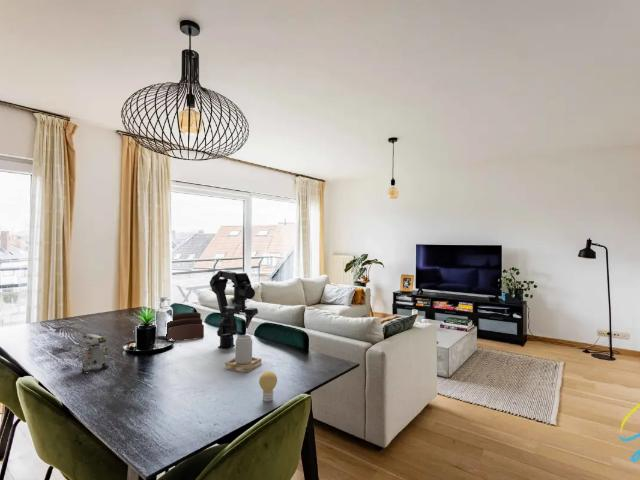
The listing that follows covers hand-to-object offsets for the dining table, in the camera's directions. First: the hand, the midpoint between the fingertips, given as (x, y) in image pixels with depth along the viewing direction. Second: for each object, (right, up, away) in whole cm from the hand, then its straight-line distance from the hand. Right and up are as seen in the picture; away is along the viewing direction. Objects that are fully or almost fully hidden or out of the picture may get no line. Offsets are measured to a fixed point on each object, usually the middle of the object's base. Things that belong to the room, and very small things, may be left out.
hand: (239, 327), depth 174 cm
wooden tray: (+7, -13, -19) cm, 24 cm away
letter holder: (-38, -13, +26) cm, 48 cm away
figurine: (-58, -12, -25) cm, 64 cm away
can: (+6, -12, -19) cm, 23 cm away
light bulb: (+23, -13, -52) cm, 58 cm away
